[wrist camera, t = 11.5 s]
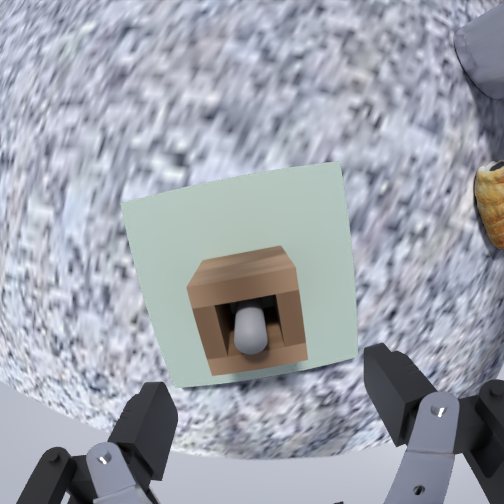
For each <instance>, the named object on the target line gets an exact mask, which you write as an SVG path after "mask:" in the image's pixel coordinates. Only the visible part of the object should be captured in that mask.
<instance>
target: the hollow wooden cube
mask: <svg viewBox="0 0 504 504" xmlns="http://www.w3.org/2000/svg"><path fill="white" fill-rule="evenodd" d="M186 288H187V292H188V296H189V300H190V303H191V307H192V311H193V314H194V318H195V321H196V325H197V328H198V332H199V335H200V339H201V342H202V345H203V349H204V352H205V355H206V358H207V361H208V365H209V368H210V371H211V374H212V376H217V375H225V374H232V373H239V372H246V371H252V370H258V369H264V368H270V367H275V366H281V365H286V364H291V363H296V362H301V361H305V360H308V354H307V345H306V337H305V329H304V322H303V314H302V307H301V300H300V293H299V286H298V279H297V272H296V267H295V265H294V264H293V262H292V261H291V259H290V258H289V256H288V255H287V253H286V252H285V251H284V249H283V248H282V246H281V245H280V246H275V247H269V248H264V249H259V250H253V251H248V252H243V253H238V254H232V255H227V256H222V257H216V258H211V259H206V260H202V262H201V263H200V265H199V267H198V268H197V270H196V272H195V273H194V275H193V277H192V278H191V280H190V282H189V284H188V285H187V287H186ZM269 295H272V296H273V301H274V306H272V307H267V308H263V313H264V320H265V326H266V333H267V345H266V347H265V348H264V349H263V350H262V351H261V352H259V353H257V354H252V355H249V354H244V353H242V352H240V351H239V350H238V349H237V348H236V346H235V343H234V334H235V318H236V313H233V314H232V312H231V308H230V304H229V303H230V302H236V301H242V300H247V299H253V298H258V297H264V296H269Z"/></svg>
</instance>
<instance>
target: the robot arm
mask: <svg viewBox="0 0 504 504" xmlns="http://www.w3.org/2000/svg"><path fill="white" fill-rule="evenodd" d="M454 43H455V48H456V52H457V55H458V57H459V59H460V62H461V64H462V65H463V67H464V69H465V71H466V72H467V74H468V75H469V77H470V78H471V80H472V81H473V82H474V83H475V85H476V86H477V87H478V88H479V89H480V90H481V91H482V92H483V93H485V94H486V95H487V96H489V97H491V98H493V99H501V98H504V3H502V4H500V5H498V6H496V7H495V8H493V9H491V10H489V11H488V12H486V13H484V14H483V15H481V16H479V17H477V18H476V19H474V20H472V21H471V22H469V23H468V24H466V25H464V26H463V27H461V28H460V29H458V30H457V31H456V32H455V35H454ZM364 384H365V388H366V391H367V393H368V395H369V396H370V398H371V400H372V402H373V404H374V406H375V408H376V410H377V411H378V413H379V415H380V417H381V419H382V421H383V423H384V425H385V427H386V428H387V430H388V432H389V434H390V436H391V438H392V440H393V442H394V444H395V446H396V447H398V446H401V445H403V444H406V445H407V449H406V451H405V453H404V456H403V459H402V462H401V464H400V467H399V469H398V472H397V474H396V477H395V479H394V482H393V484H392V486H391V489H390V491H389V493H388V495H387V498H386V500H385V502H384V504H443V502H444V499H445V496H446V492H447V489H448V485H449V481H450V477H451V473H452V469H453V464H454V459H455V454H459V453H463V455H464V457H465V458H466V460H467V462H468V464H469V465H470V467H471V469H472V471H473V473H474V474H475V476H476V478H477V480H478V481H479V484H480V485H481V487H482V489H483V491H484V493H485V495H486V497H487V498H488V501H489V503H490V504H504V381H503V380H498V379H496V380H490V381H488V382H486V383H484V384H483V385H482V387H481V389H480V391H479V394H478V395H475V396H470V397H466V398H461V399H457V398H456V397H455V396H454V395H453V394H451V393H448V392H438V391H437V390H436V389H435V387H434V386H433V385H432V384H431V383H430V381H429V380H428V379H427V378H426V377H425V376H424V374H423V373H422V372H421V371H419V369H418V367H417V366H416V365H415V364H414V363H413V362H412V360H411V359H410V358H409V357H408V356H407V355H405V354H403V353H401V352H399V351H394V352H391V351H390V350H389V349H388V348H387V346H386V345H385V344H384V343H379V344H376V345H372V346H369V347H365V348H364ZM177 423H178V413H177V409H176V407H175V405H174V402H173V400H172V398H171V396H170V394H169V392H168V389H167V387H166V385H165V383H164V382H146V383H144V385H143V387H142V389H141V391H140V393H139V394H135V395H134V396H133V397H132V398H131V399H130V400H129V401H128V402H127V404H126V406H125V407H124V409H123V412H122V413H121V415H120V419H118V421H117V423H116V425H115V427H114V429H113V431H112V433H111V435H110V437H109V439H108V441H107V442H103V443H99V444H97V445H95V446H93V447H92V448H91V449H90V450H89V452H88V453H87V455H81V456H71V455H70V454H69V453H68V452H67V451H66V449H64V448H61V447H54V448H51V449H49V450H47V451H46V452H45V453H44V454H43V455H42V457H41V459H40V460H39V462H38V464H37V466H36V468H35V469H34V471H33V473H32V475H31V476H30V478H29V480H28V482H27V484H26V486H25V488H24V490H23V491H22V493H21V495H20V497H19V499H18V501H17V503H16V504H61V501H62V499H63V496H64V494H65V492H67V493H68V494H69V495H70V498H69V501H68V503H67V504H160V502H159V500H158V499H157V497H156V495H155V494H154V492H153V490H152V489H151V488H150V486H149V484H150V481H151V480H157V481H162V478H163V474H164V470H165V467H166V463H167V459H168V455H169V452H170V448H171V445H172V441H173V437H174V434H175V430H176V427H177ZM335 504H343V502H339V503H335Z"/></svg>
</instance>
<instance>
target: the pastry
mask: <svg viewBox="0 0 504 504" xmlns="http://www.w3.org/2000/svg"><path fill="white" fill-rule="evenodd" d="M474 191H475V196H476V199H477V207H478V210H479V214H480V216H481V219H482V222H483V224H484V227H485V230H486V233H487V235H488V238H489V240H490V241H491V242H492V244H493V245H494V246H495V247H496V248H498V249H504V159H501V160H499V161H498V162H495V161H492V162H490V163H489V164H487V166H486V167H485V166H481V167H480V168H478V170H477V174H476V180H475V186H474Z"/></svg>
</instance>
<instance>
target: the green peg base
mask: <svg viewBox="0 0 504 504" xmlns="http://www.w3.org/2000/svg"><path fill="white" fill-rule="evenodd" d="M121 208H122V213H123V218H124V222H125V227H126V231H127V236H128V240H129V245H130V249H131V253H132V257H133V261H134V265H135V268H136V272H137V276H138V280H139V283H140V287H141V290H142V294H143V297H144V300H145V304H146V307H147V310H148V313H149V316H150V320H151V323H152V326H153V329H154V332H155V335H156V338H157V340H158V343H159V346H160V349H161V352H162V354H163V357H164V360H165V363H166V365H167V368H168V370H169V373H170V376H171V378H172V381H173V383H174V386H175V388H181V387H194V386H204V385H214V384H223V383H231V382H238V381H245V380H252V379H258V378H265V377H270V376H276V375H282V374H287V373H292V372H297V371H302V370H306V369H311V368H315V367H320V366H324V365H328V364H332V363H336V362H340V361H344V360H348V359H352V358H355V357H358V335H357V308H356V291H355V277H354V265H353V254H352V244H351V235H350V226H349V218H348V211H347V204H346V197H345V190H344V184H343V178H342V172H341V166H340V161H336V162H328V163H320V164H312V165H305V166H298V167H291V168H284V169H278V170H272V171H265V172H260V173H254V174H248V175H243V176H237V177H232V178H227V179H222V180H217V181H212V182H207V183H202V184H198V185H193V186H188V187H184V188H180V189H175V190H171V191H167V192H163V193H159V194H155V195H151V196H147V197H143V198H139V199H135V200H131V201H128V202H124V203H121ZM280 245H281V246H282V248H283V249H284V251H285V252H286V253H287V255H288V256H289V258H290V259H291V261H292V262H293V264H294V265H295V267H296V272H297V279H298V286H299V293H300V300H301V307H302V314H303V322H304V329H305V337H306V345H307V354H308V360H305V361H301V362H296V363H291V364H286V365H281V366H275V367H270V368H264V369H258V370H252V371H246V372H239V373H232V374H225V375H217V376H212V374H211V371H210V368H209V365H208V361H207V358H206V355H205V352H204V349H203V345H202V342H201V339H200V335H199V332H198V328H197V325H196V321H195V318H194V314H193V311H192V307H191V303H190V300H189V296H188V292H187V288H186V287H187V285H188V284H189V282H190V280H191V278H192V277H193V275H194V273H195V272H196V270H197V268H198V267H199V265H200V263H201V262H202V260H206V259H211V258H216V257H222V256H227V255H232V254H238V253H243V252H248V251H253V250H259V249H264V248H269V247H275V246H280ZM229 304H230V308H231V312H232V314H233V313H236V318H235V334H234V343H235V346H236V348H237V349H238V350H239V351H240V352H242V353H244V354H249V355H252V354H257V353H259V352H261V351H262V350H263V349H264V348H265V347H266V345H267V333H266V326H265V320H264V313H263V308H267V307H272V306H274V301H273V296H272V295H269V296H264V297H258V298H253V299H247V300H242V301H236V302H230V303H229Z"/></svg>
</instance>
